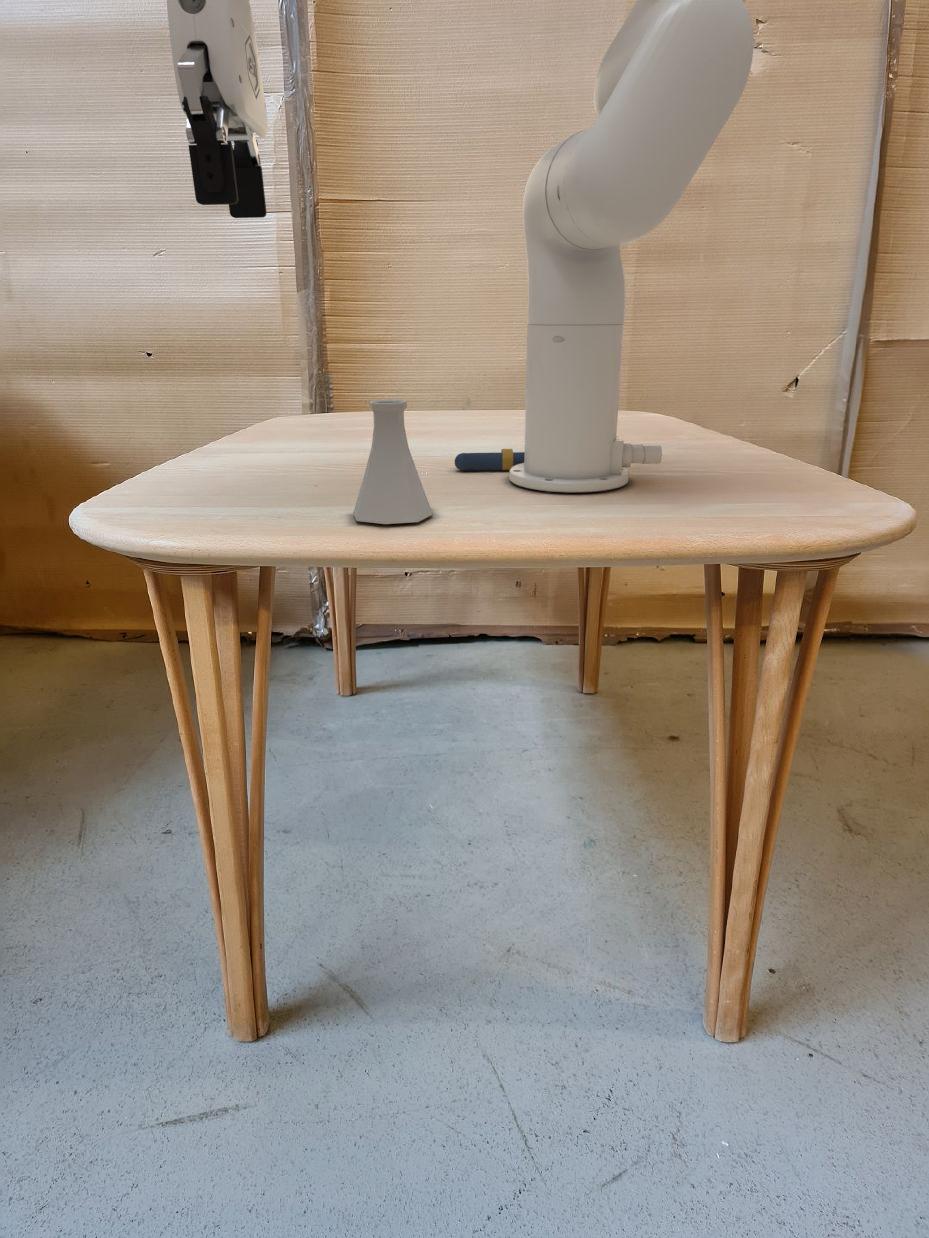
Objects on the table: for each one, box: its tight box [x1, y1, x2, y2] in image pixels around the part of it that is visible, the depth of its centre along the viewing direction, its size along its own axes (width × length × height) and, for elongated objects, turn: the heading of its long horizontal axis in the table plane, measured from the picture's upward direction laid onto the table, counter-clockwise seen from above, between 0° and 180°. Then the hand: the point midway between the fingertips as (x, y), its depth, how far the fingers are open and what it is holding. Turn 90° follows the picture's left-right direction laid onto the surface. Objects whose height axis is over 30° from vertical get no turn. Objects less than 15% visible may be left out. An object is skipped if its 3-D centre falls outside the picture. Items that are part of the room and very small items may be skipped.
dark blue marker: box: [454, 448, 525, 472], centre depth 87 cm, size 12×2×2 cm, turn 92°
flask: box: [352, 398, 434, 525], centre depth 66 cm, size 7×7×10 cm
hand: (234, 211), depth 64 cm, fingers open, 9 cm apart
